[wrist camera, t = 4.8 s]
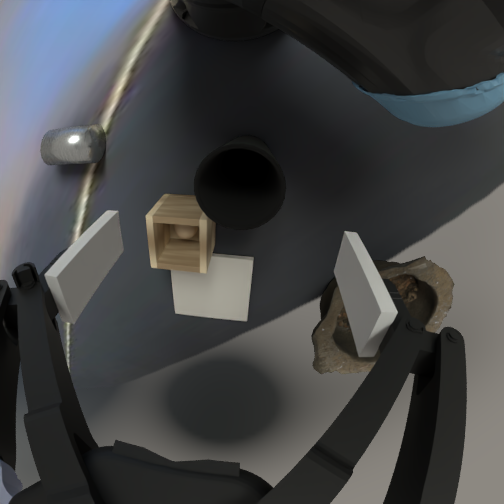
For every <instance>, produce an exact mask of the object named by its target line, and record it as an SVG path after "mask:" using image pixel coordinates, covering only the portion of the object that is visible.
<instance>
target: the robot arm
mask: <svg viewBox="0 0 504 504" xmlns="http://www.w3.org/2000/svg"><path fill="white" fill-rule="evenodd" d="M170 2H171V5H172V8H173V9H174V11H175V13H176V14H177V16H178V17H179V18H180V19H181V20H182V21H183V22H184V23H185V24H186V25H188V26H189V27H190V28H191V29H193V30H194V31H196V32H198V33H200V34H202V35H204V36H207V37H210V38H214V39H218V40H225V41H243V40H250V39H255V38H259V37H262V36H265V35H267V34H270V33H272V32H274V31H276V30H277V29H280V30H281V31H283V32H285V33H286V34H288V35H290V36H291V37H293V38H294V39H296V40H297V41H299V42H300V43H302V44H303V45H305V46H306V47H308V48H309V49H311V50H312V51H314V52H315V53H316V54H318V55H319V56H321V57H322V58H323V59H325V60H326V61H327V62H329V63H330V64H331V65H333V66H334V67H335V68H337V69H338V70H339V71H341V72H342V73H343V74H344V75H346V76H347V77H348V78H349V79H351V80H352V83H353V85H354V86H355V87H356V88H357V89H358V90H360V91H361V92H363V93H365V94H367V95H369V96H371V97H373V98H374V99H375V100H376V101H377V102H379V103H380V104H381V105H382V106H383V107H384V108H386V109H387V110H388V111H389V112H390V113H391V114H393V115H394V116H395V117H397V118H399V119H400V120H403V121H406V122H409V123H411V124H414V125H417V126H423V127H445V126H452V125H456V124H460V123H464V122H467V121H470V120H473V119H476V118H478V117H480V116H482V115H485V114H486V113H488V112H490V111H492V110H493V109H495V108H496V107H498V106H499V105H500V104H501V103H502V102H504V0H170ZM123 251H124V249H123V243H122V236H121V229H120V222H119V214H118V211H109V210H107V211H106V212H105V213H104V214H103V215H102V216H101V217H100V218H99V219H98V220H97V221H96V222H94V223H93V224H92V225H91V226H90V227H89V228H88V229H87V230H86V231H85V232H84V233H83V234H82V235H81V236H80V237H79V238H78V239H77V240H76V241H75V242H74V243H73V244H72V245H71V246H70V247H69V248H67V249H65V250H63V251H62V252H60V253H59V254H58V255H57V256H56V257H55V258H54V260H52V261H51V262H50V264H49V265H48V266H47V267H46V268H45V269H44V270H43V271H42V272H41V274H40V275H39V276H38V273H37V270H36V267H35V265H34V264H33V263H30V262H27V263H23V264H21V265H19V266H18V267H16V268H15V269H14V270H13V272H12V276H13V279H14V282H15V284H16V286H17V288H9V285H8V283H7V281H5V280H0V504H330V503H331V502H332V500H333V499H334V498H335V497H336V496H337V494H338V493H339V492H340V491H341V489H342V488H343V487H344V485H345V484H346V483H347V481H348V480H349V478H350V477H351V475H352V473H353V468H354V467H355V465H356V464H357V462H358V461H359V459H360V458H361V456H362V455H363V453H364V452H365V451H366V449H367V447H368V446H369V444H370V443H371V441H372V440H373V438H374V436H375V435H376V433H377V432H378V430H379V428H380V427H381V425H382V423H383V422H384V420H385V418H386V417H387V415H388V413H389V411H390V410H391V408H392V406H393V404H394V402H395V400H396V398H397V397H398V395H399V393H400V391H401V389H402V387H403V385H404V383H405V381H406V379H407V376H408V375H409V373H413V374H415V376H414V383H413V390H412V396H411V402H410V407H409V413H408V418H407V422H406V427H405V431H404V436H403V440H402V444H401V448H400V452H399V456H398V459H397V463H396V466H395V470H394V473H393V476H392V479H391V482H390V485H389V488H388V491H387V494H386V497H385V500H384V502H383V504H454V502H455V498H456V493H457V488H458V482H459V477H460V471H461V465H462V457H463V449H464V439H465V426H466V402H467V400H466V399H467V393H466V392H467V388H466V387H467V386H466V384H467V382H466V358H465V344H464V339H463V336H462V335H461V333H460V332H459V331H457V330H456V329H454V328H451V327H445V328H443V329H442V330H441V332H440V334H437V333H433V332H429V331H426V328H425V325H424V324H423V323H422V322H421V321H420V320H418V319H416V318H414V317H411V315H410V313H409V311H408V309H407V307H406V305H405V303H404V301H403V299H402V297H401V295H400V294H399V292H398V290H397V288H396V286H395V285H394V284H393V283H392V282H391V281H390V280H389V279H383V278H381V277H380V275H379V273H378V271H377V269H376V267H375V265H374V263H373V261H372V259H371V257H370V256H369V254H368V252H367V250H366V248H365V246H364V244H363V243H362V241H361V239H360V237H359V236H358V234H357V233H356V232H348V231H344V235H343V239H342V243H341V247H340V250H339V254H338V258H337V261H336V265H335V268H334V274H335V277H336V280H337V283H338V286H339V289H340V293H341V296H342V299H343V303H344V306H345V309H346V313H347V316H348V320H349V323H350V327H351V330H352V334H353V337H354V341H355V345H356V348H357V352H358V356H359V357H374V356H375V354H376V352H377V350H378V349H379V350H380V353H381V355H380V357H379V358H378V360H377V361H376V363H375V365H374V366H373V368H372V369H371V371H370V372H369V374H368V375H367V377H366V378H365V380H364V381H363V383H362V384H361V386H360V387H359V388H358V390H357V391H356V393H355V394H354V396H353V397H352V399H351V400H350V401H349V402H348V404H347V405H346V407H345V408H344V409H343V411H342V412H341V413H340V414H339V416H338V417H337V418H336V420H335V421H334V422H333V423H332V425H331V426H330V427H329V429H328V430H327V431H326V432H325V433H324V435H323V436H322V437H321V438H320V439H319V440H318V442H317V443H316V444H315V445H314V446H313V447H312V448H311V449H310V450H309V452H308V453H307V454H306V455H305V456H304V457H303V458H302V459H301V460H300V461H299V462H298V464H297V465H296V466H295V467H294V468H293V469H292V470H291V471H290V472H289V473H288V474H287V475H286V476H285V477H284V478H283V479H282V480H281V481H280V482H279V483H278V484H277V485H276V486H275V487H274V488H273V487H272V486H271V485H270V484H269V483H267V482H266V481H265V480H263V479H262V478H261V477H259V476H257V475H255V474H253V473H251V472H248V471H246V470H243V469H240V463H235V462H224V461H215V460H198V461H197V460H196V461H180V462H175V461H171V460H168V459H166V458H164V457H162V456H160V455H158V454H156V453H154V452H151V451H150V450H148V449H145V448H143V447H139V446H136V445H132V444H128V443H125V442H121V441H118V440H115V443H114V446H104V447H98V445H97V443H96V442H95V441H94V439H93V437H92V435H91V433H90V431H89V428H88V426H87V423H86V421H85V418H84V415H83V413H82V410H81V407H80V404H79V401H78V398H77V395H76V392H75V389H74V386H73V383H72V380H71V376H70V373H69V369H68V366H67V362H66V358H65V355H64V351H63V346H62V342H61V338H60V333H59V328H58V324H57V321H56V318H55V316H56V315H57V313H58V312H59V314H60V316H61V319H62V321H65V322H69V323H73V324H75V322H76V320H77V319H78V317H79V316H80V314H81V312H82V311H83V309H84V308H85V306H86V305H87V303H88V302H89V300H90V298H91V297H92V295H93V294H94V292H95V291H96V289H97V288H98V286H99V285H100V284H101V282H102V281H103V279H104V278H105V276H106V275H107V273H108V272H109V271H110V269H111V268H112V266H113V265H114V264H115V262H116V261H117V259H118V258H119V257H120V255H121V254H122V253H123ZM20 360H21V369H22V376H23V383H24V389H25V395H26V400H27V405H28V414H25V415H24V423H25V428H26V432H27V436H28V440H29V444H30V448H31V451H32V454H33V458H34V461H35V464H36V467H37V470H38V473H39V476H40V479H41V480H40V481H39V482H37V483H35V484H33V485H31V486H30V487H28V488H26V489H24V490H22V487H23V486H22V483H21V481H20V480H19V479H18V478H17V475H16V473H15V465H16V429H15V428H16V397H17V384H18V374H19V366H20ZM21 490H22V491H21Z"/></svg>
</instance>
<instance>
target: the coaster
mask: <svg viewBox="0 0 504 504" xmlns="http://www.w3.org/2000/svg"><path fill="white" fill-rule="evenodd" d="M253 259H254V257H248V256H237V255H226V254H216V253H212V256H211V260H210V263H209V267H208V270H207V274H206V273H196V272H187V271H177V270H171V278H172V288H173V297H174V307H175V313H176V314H184V315H192V316H200V317H209V318H218V319H227V320H238V321H247V317H248V307H249V298H250V288H251V279H252V269H253Z"/></svg>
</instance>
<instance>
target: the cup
mask: <svg viewBox="0 0 504 504" xmlns="http://www.w3.org/2000/svg"><path fill="white" fill-rule="evenodd" d="M194 192H195V196H196V201H197V202H198V204H199V206H200V208H201V210H202V211H203V212H204V213H205V215H206V216H207V217H208V218H209V219H211V220H212V221H214V222H215V223H216V224H219V225H221V226H223V227H225V228H230V229H234V230H248V229H252V228H256V227H259V226H261V225H263V224H265V223H267V222H268V221H269V220H270V219H272V218H273V217H274V216H275V215H276V213H277V212H278V211H279V210H280V208H281V206H282V204H283V201H284V199H285V192H286V184H285V177H284V174H283V172H282V169H281V167H280V165H279V164H278V162H277V161H276V159H275V158H274V156H273V155H272V153H271V152H270V150H269V148H268V147H267V146H266V144H265V143H264V142H263V141H262V140H260V139H259V138H257V137H254V136H249V135H248V136H240V137H237V138H236V139H234V140H232V141H230V142H228V143H227V144H225V145H223V146H221V147H220V148H218V149H216V150H215V151H213V152H211V153H210V154H209V155H208V156H207V157H206V158H205V159H204V160H203V161H202V162H201V164H200V166H199V168H198V169H197V172H196V175H195V179H194Z"/></svg>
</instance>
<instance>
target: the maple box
mask: <svg viewBox="0 0 504 504" xmlns="http://www.w3.org/2000/svg"><path fill="white" fill-rule="evenodd" d="M146 224H147V235H148V244H149V253H150V261H151V268H159V269H168V270H177V271H187V272H196V273H206V274H207V270H208V267H209V263H210V260H211V256H212V253H213V250H214V246H215V228H216V223H215V222H214V221H212V220H211V219H209V218H208V217H207V216H206V215H205V213H204V212H203V211H202V210H201V208H200V206H199V204H198V202H197V201H196V196H195V195H179V194H164V195H163V196H162V197H161V198H160V199H159V201H158V202H157V203H156V204H155V205H154V206H153V208H152V209H151V210H150V211H149V212H148V214H147V215H146ZM175 224H179V225H191V226H198V229H197V232H196V234H195V235H194V236H193V237H191V238H189V239H183V238H181V237H179V236H178V235H177V234H176V232H175Z"/></svg>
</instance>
